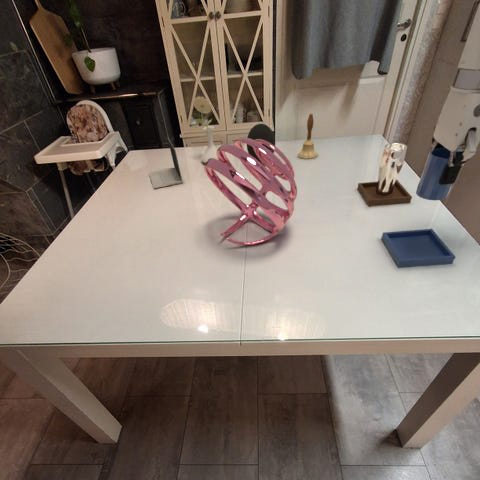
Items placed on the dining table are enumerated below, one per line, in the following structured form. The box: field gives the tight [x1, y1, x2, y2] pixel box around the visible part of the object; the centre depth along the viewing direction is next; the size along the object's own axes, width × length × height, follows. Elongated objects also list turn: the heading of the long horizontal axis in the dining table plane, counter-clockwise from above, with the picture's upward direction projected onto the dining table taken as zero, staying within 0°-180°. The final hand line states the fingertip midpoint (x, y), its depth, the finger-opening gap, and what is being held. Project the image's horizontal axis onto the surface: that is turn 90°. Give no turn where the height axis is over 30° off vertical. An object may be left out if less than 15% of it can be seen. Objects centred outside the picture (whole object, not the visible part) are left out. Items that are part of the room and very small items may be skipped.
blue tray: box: [381, 228, 456, 268], centre depth 81 cm, size 14×14×2 cm
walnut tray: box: [357, 179, 413, 207], centre depth 103 cm, size 14×14×2 cm
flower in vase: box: [192, 95, 218, 164], centre depth 132 cm, size 13×11×25 cm
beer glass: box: [374, 142, 408, 198], centre depth 98 cm, size 7×7×15 cm
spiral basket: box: [203, 137, 298, 246], centre depth 85 cm, size 28×28×27 cm
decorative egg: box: [246, 123, 276, 164], centre depth 129 cm, size 12×12×15 cm
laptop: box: [148, 137, 183, 189], centre depth 127 cm, size 18×12×13 cm
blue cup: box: [415, 148, 461, 201], centre depth 68 cm, size 7×7×9 cm
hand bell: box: [297, 113, 318, 160], centre depth 129 cm, size 8×8×16 cm
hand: (438, 176), depth 69 cm, fingers closed on blue cup, 6 cm apart
